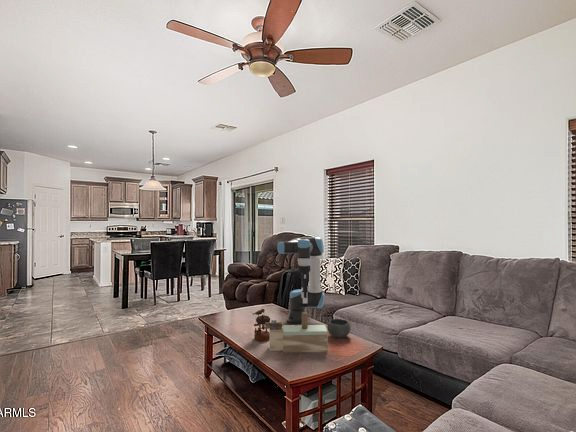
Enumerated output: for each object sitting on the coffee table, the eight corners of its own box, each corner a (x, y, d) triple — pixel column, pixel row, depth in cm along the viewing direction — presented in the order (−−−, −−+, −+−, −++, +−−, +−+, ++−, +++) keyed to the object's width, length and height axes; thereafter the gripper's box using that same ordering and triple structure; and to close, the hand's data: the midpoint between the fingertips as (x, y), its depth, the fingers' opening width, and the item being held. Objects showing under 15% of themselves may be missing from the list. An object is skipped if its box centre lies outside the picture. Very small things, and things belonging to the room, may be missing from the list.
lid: (283, 328, 198) (282, 310, 198) (324, 327, 198) (324, 310, 199) (283, 335, 186) (282, 316, 186) (327, 334, 186) (327, 315, 187)
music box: (260, 344, 199) (258, 311, 201) (249, 341, 207) (247, 309, 208) (277, 337, 210) (275, 306, 212) (266, 335, 218) (265, 305, 219)
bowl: (353, 335, 214) (353, 320, 214) (345, 342, 201) (345, 326, 201) (333, 331, 221) (332, 316, 222) (324, 338, 209) (324, 322, 209)
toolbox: (270, 344, 198) (270, 318, 198) (325, 344, 198) (324, 317, 199) (269, 352, 186) (269, 324, 186) (327, 352, 186) (327, 323, 187)
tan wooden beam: (265, 327, 193) (265, 322, 193) (281, 327, 193) (281, 322, 193) (265, 328, 191) (265, 323, 191) (281, 328, 191) (281, 323, 191)
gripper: (297, 262, 206) (297, 295, 205) (298, 267, 181) (299, 305, 180) (308, 262, 206) (308, 295, 205) (312, 267, 181) (312, 305, 180)
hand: (304, 300), depth 193 cm, fingers open, 13 cm apart
